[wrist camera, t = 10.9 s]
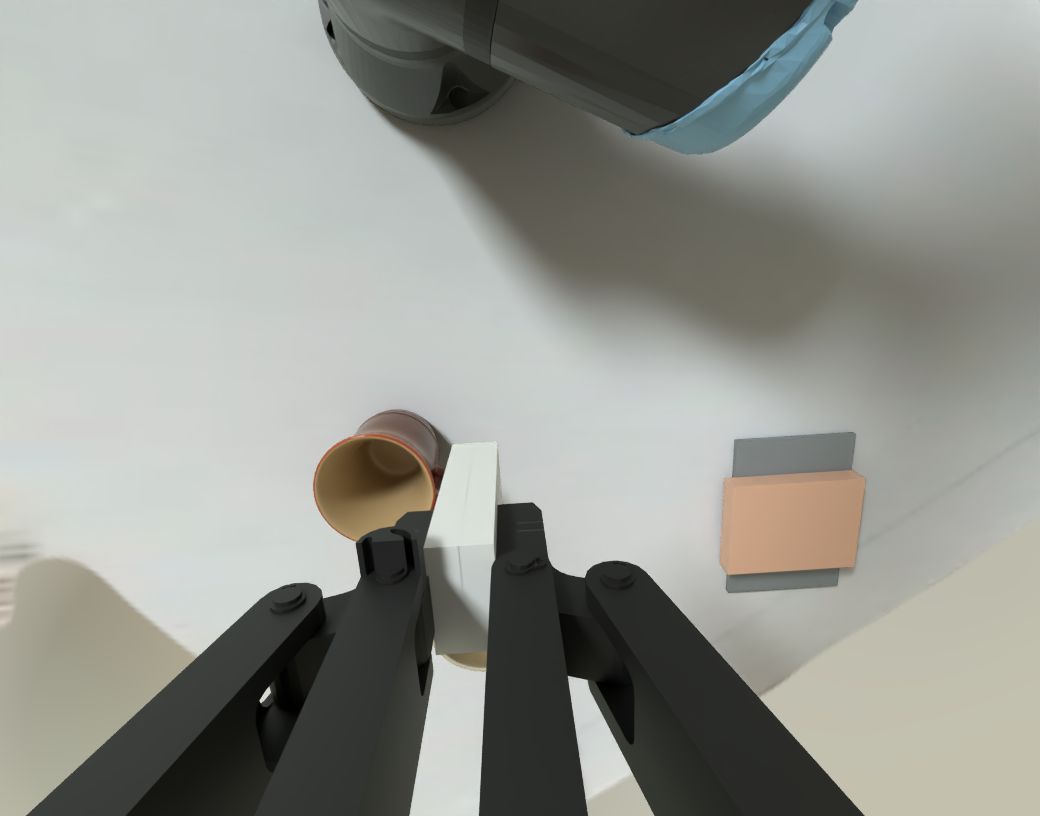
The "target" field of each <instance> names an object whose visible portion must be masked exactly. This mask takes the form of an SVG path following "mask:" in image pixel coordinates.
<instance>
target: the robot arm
mask: <svg viewBox="0 0 1040 816" xmlns="http://www.w3.org/2000/svg"><path fill="white" fill-rule="evenodd" d="M318 1H319V8H320V14H321V18H322V22H323V26H324V29H325V32H326V35H327V38H328V40H329V43H330V45H331V47H332V49H333V52H334V53H335V55H336V57H337V59H338V61H339V62H340V64H341V66H342V67H343V69H344V70H345V71H346V73H347V74H348V75H349V77H350V78H351V79H352V80H353V82H354V83H355V84H356V85H357V86H358V88H359V89H360V90H361V91H362V92H363V93H364V94H365V95H366V96H367V97H368V98H369V99H370V100H371V101H373V102H374V103H375V104H376V105H378V106H379V107H381V108H382V109H383V110H385V111H387V112H388V113H390V114H392V115H394V116H396V117H398V118H401V119H403V120H406V121H409V122H413V123H417V124H422V125H433V126H435V125H449V124H455V123H458V122H462V121H465V120H468V119H470V118H472V117H474V116H476V115H478V114H480V113H482V112H483V111H485V110H486V109H488V108H489V107H490V106H492V105H493V104H494V103H495V102H496V101H497V100H499V99H500V98H501V96H502V95H503V94H504V93H505V92H506V91H507V90H508V88H509V87H510V86H511V84H512V83H513V81H514V80H515V78H516V79H519V80H521V81H523V82H525V83H527V84H529V85H531V86H534V87H536V88H538V89H540V90H542V91H544V92H546V93H549V94H551V95H553V96H555V97H557V98H559V99H561V100H564V101H566V102H568V103H570V104H572V105H574V106H576V107H579V108H581V109H583V110H585V111H587V112H589V113H591V114H594V115H596V116H598V117H600V118H602V119H604V120H606V121H608V122H611V123H613V124H615V125H617V126H619V127H621V129H622V131H623V132H624V133H625V134H626V135H628V136H630V137H631V138H634V139H637V138H638V139H641V140H650V141H653V142H655V143H658V144H660V145H663V146H665V147H667V148H670V149H672V150H675V151H677V152H680V153H683V154H704V153H711V152H714V151H717V150H719V149H722V148H724V147H726V146H728V145H730V144H731V143H733V142H735V141H736V140H738V139H739V138H741V137H742V136H744V135H745V134H746V133H748V132H749V131H750V130H751V129H753V128H754V127H755V126H756V125H757V124H759V123H760V122H761V121H762V120H763V119H764V118H765V117H766V116H768V115H769V114H770V113H771V112H772V111H773V110H774V109H775V108H776V107H777V106H778V105H779V104H780V103H781V102H782V101H783V100H784V99H785V98H786V96H787V95H788V94H789V93H790V92H791V91H792V90H793V89H794V88H795V87H796V86H797V84H798V83H799V82H800V81H801V80H802V79H803V78H804V76H805V75H806V74H807V73H808V72H809V70H810V69H811V68H812V67H813V65H814V64H815V63H816V62H817V60H818V59H819V58H820V56H821V55H822V54H823V52H824V51H825V50H826V48H827V47H828V45H829V44H830V42H831V41H832V31H833V29H834V27H835V26H836V25H837V24H838V23H839V22H840V21H841V20H842V19H843V18H844V17H845V16H846V15H847V14H848V13H849V12H850V11H852V10H853V8H854V6H855V5H856V3H857V1H858V0H318ZM356 548H357V555H358V561H359V567H360V574H361V578H360V580H359V582H358V585H357V587H356V589H354V590H352V591H349V592H346V593H343V594H339V595H335V596H331V597H328V598H324V599H323V596H322V591H321V589H320V588H319V587H318V586H317V585H314V584H310V583H293V584H290V585H285V586H282V587H280V588H278V589H276V590H274V591H271V592H270V593H268V594H267V595H265V596H264V597H263V598H261V599H260V600H259V601H258V602H257V603H256V604H255V605H253V606H252V607H251V608H250V609H249V610H248V611H247V612H246V613H245V614H244V615H243V616H242V617H240V618H239V619H238V620H237V621H236V622H235V623H234V624H233V625H232V626H231V627H230V628H229V629H227V630H226V631H225V632H224V633H223V634H222V635H221V636H220V637H219V638H218V639H217V640H216V641H215V642H213V643H212V644H211V645H210V646H209V647H208V648H207V649H206V650H205V651H204V652H203V653H202V654H200V655H199V656H198V657H197V658H196V659H195V660H194V661H193V662H192V663H191V664H190V665H189V666H188V667H186V668H185V669H184V670H183V671H182V672H181V673H180V674H179V675H178V676H177V677H176V678H175V679H174V680H172V681H171V682H170V683H169V684H168V685H167V686H166V687H165V688H164V689H163V690H162V691H161V692H159V693H158V694H157V695H156V696H155V697H154V698H153V699H152V700H151V701H150V702H149V703H147V704H146V705H145V706H144V707H143V708H142V709H141V710H140V711H139V712H138V713H137V714H136V715H135V716H134V717H132V718H131V719H130V720H129V721H128V722H127V723H126V724H125V725H124V726H123V727H122V728H121V729H119V730H118V731H117V732H116V733H115V734H114V735H113V736H112V737H111V738H110V739H109V740H107V741H106V742H105V744H103V745H102V746H101V747H100V748H99V749H98V750H97V751H96V752H95V753H93V754H92V755H91V756H90V757H89V758H88V759H87V760H86V761H85V762H84V763H83V764H82V765H81V766H79V767H78V768H77V769H76V770H75V771H74V772H73V773H72V774H71V775H70V776H69V777H67V778H66V779H65V780H64V781H63V782H62V783H61V784H60V785H59V786H58V787H57V788H56V789H54V790H53V792H51V793H50V794H49V795H48V796H47V797H46V798H45V799H44V800H43V801H42V802H40V803H39V804H38V805H37V806H36V807H35V808H34V809H33V810H32V811H31V812H30V813H29V814H28V815H26V816H409V814H410V808H411V802H412V796H413V790H414V784H415V778H416V772H417V766H418V760H419V754H420V749H421V743H422V737H423V731H424V725H425V719H426V713H427V707H428V701H429V695H430V689H431V683H432V677H433V663H432V655H431V651H432V645H433V640H434V642H435V651H436V655H444V654H459V653H474V652H487V664H486V684H485V704H484V725H483V745H482V766H481V786H480V806H479V816H588V812H587V806H586V799H585V792H584V785H583V778H582V771H581V765H580V758H579V751H578V744H577V737H576V730H575V724H574V717H573V710H572V703H571V696H570V689H569V682H568V676H571V677H576V678H581V679H586V680H588V684H589V688H590V691H591V693H592V695H593V697H594V699H595V701H596V703H597V705H598V707H599V709H600V711H601V713H602V715H603V717H604V719H605V720H606V722H607V724H608V726H609V728H610V730H611V732H612V734H613V736H614V738H615V740H616V742H617V744H618V746H619V748H620V750H621V752H622V753H623V755H624V757H625V759H626V761H627V763H628V765H629V767H630V769H631V771H632V773H633V775H634V777H635V779H636V781H637V783H638V785H639V786H640V788H641V790H642V792H643V794H644V796H645V798H646V800H647V802H648V804H649V805H650V808H651V810H652V812H653V814H654V815H655V816H864V815H863V813H862V812H861V811H860V810H859V809H858V808H857V807H856V806H855V805H854V804H853V802H852V801H851V800H850V799H849V798H848V797H847V796H846V795H845V793H844V792H843V791H842V790H841V789H840V788H839V787H838V786H837V784H836V783H835V782H834V781H833V780H832V779H831V778H830V777H829V776H828V774H827V773H826V772H825V771H824V770H823V769H822V768H821V767H820V766H819V764H818V763H817V762H816V761H815V760H814V759H813V758H812V757H811V756H810V754H809V753H808V752H807V751H806V750H805V749H804V748H803V747H802V745H800V743H799V742H798V741H797V740H796V739H795V738H794V737H793V736H792V734H791V733H790V732H789V731H788V730H787V729H786V728H785V727H784V725H783V724H782V723H781V722H780V721H779V720H778V719H777V718H776V717H775V715H774V714H773V713H772V712H771V711H770V710H769V709H768V708H767V706H766V705H765V704H764V703H763V702H762V701H761V700H760V699H759V697H758V696H757V695H756V694H755V693H754V692H753V691H752V690H751V689H750V687H749V686H748V685H747V684H746V683H745V682H744V681H743V680H742V679H741V677H740V676H739V675H738V674H737V673H736V672H735V671H734V670H733V668H732V667H731V666H730V665H729V664H728V663H727V662H726V661H725V660H724V658H723V657H722V656H721V655H720V654H719V653H718V652H717V651H716V650H715V648H714V647H713V646H712V645H711V644H710V643H709V642H708V641H707V640H706V638H705V637H704V636H703V635H702V634H701V633H700V632H699V631H698V629H697V628H696V627H695V626H694V625H693V624H692V623H691V622H690V621H689V619H688V618H687V617H686V616H685V615H684V614H683V613H682V612H681V611H680V609H679V608H678V607H677V606H676V605H675V604H674V603H673V602H672V600H671V599H670V598H669V597H668V596H667V595H666V594H665V593H664V592H663V590H662V589H661V588H660V587H659V586H658V585H657V584H656V583H655V582H654V580H653V579H652V578H651V577H650V576H649V575H648V574H647V573H646V572H645V571H644V570H643V569H641V568H640V567H639V566H636V565H634V564H631V563H628V562H623V561H607V562H602V563H599V564H596V565H594V566H593V567H591V568H590V569H589V570H588V571H587V573H586V576H585V578H581V577H575V576H570V575H567V574H564V573H562V572H559V571H558V570H556V569H555V568H554V567H553V566H552V565H551V563H550V561H549V559H548V553H547V546H546V539H545V532H544V525H543V518H542V512H541V510H540V509H539V508H538V507H537V506H536V505H535V504H534V503H533V502H532V503H517V504H502V496H501V482H500V468H499V454H498V441H496V442H480V443H464V444H452V448H451V451H450V455H449V459H448V462H447V466H446V469H445V473H444V476H443V480H442V483H441V487H440V491H439V494H438V498H437V501H436V505H435V508H434V510H428V511H412V512H407V513H406V514H404V515H403V516H402V517H401V518H400V519H398V520H397V521H396V524H395V526H391V527H385V528H380V529H377V530H374V531H371V532H369V533H367V534H365V535H364V536H362V537H361V538H360V539H359V540H358V541H357V542H356ZM269 686H270V690H271V693H270V695H269V696H268V697H267V698H266V700H265V701H263V702H262V703H260V701H259V700H260V699H261V697H262V695H263V694H264V692H265V691H266V689H267V688H268V687H269Z"/></svg>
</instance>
